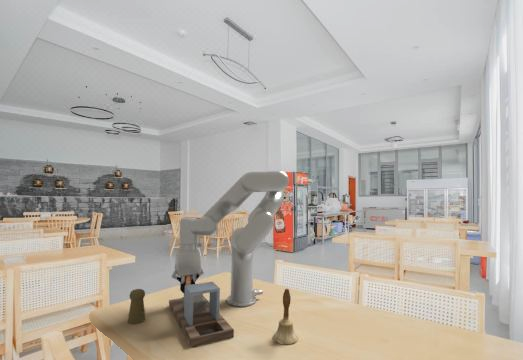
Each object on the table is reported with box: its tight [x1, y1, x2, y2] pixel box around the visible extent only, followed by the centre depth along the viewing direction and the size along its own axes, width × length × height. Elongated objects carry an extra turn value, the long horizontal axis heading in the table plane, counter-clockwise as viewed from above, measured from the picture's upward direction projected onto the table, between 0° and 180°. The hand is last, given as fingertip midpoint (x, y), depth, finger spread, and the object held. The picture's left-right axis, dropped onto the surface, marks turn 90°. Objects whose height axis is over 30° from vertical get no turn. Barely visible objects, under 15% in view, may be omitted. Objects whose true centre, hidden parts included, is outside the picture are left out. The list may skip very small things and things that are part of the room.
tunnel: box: [183, 281, 221, 326], centre depth 105 cm, size 8×10×11 cm
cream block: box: [193, 294, 204, 311], centre depth 113 cm, size 5×5×6 cm
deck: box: [168, 295, 235, 348], centre depth 109 cm, size 35×14×2 cm, turn 28°
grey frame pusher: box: [181, 275, 206, 311], centre depth 117 cm, size 15×7×10 cm, turn 28°
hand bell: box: [272, 288, 299, 345], centre depth 97 cm, size 8×8×16 cm
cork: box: [127, 288, 146, 325], centre depth 108 cm, size 6×6×11 cm
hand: (187, 291), depth 122 cm, fingers closed on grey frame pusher, 3 cm apart
